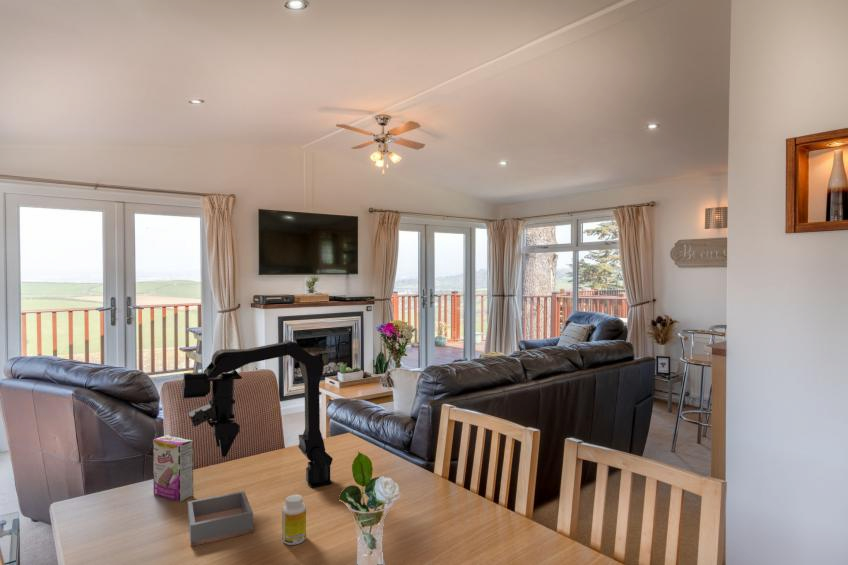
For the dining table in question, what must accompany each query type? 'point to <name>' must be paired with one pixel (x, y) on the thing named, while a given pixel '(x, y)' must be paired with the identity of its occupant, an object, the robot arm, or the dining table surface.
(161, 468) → the candy bar box
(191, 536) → the walled box
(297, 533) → the supplement bottle
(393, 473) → the dining table surface
